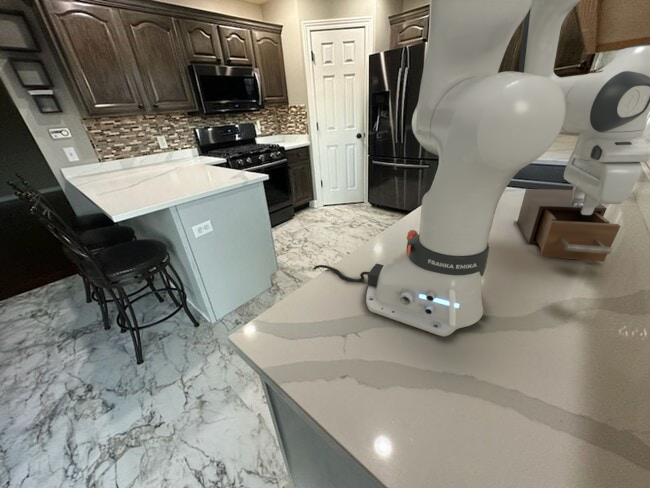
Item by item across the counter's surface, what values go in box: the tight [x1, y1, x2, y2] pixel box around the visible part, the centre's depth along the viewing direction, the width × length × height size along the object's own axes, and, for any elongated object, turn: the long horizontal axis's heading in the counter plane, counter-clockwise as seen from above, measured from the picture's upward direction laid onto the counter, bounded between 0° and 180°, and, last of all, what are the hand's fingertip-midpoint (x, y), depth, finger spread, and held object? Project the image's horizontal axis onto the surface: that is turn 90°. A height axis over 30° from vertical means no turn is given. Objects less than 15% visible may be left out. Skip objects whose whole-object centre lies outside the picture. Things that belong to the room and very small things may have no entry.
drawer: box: [534, 209, 621, 263], centre depth 62 cm, size 18×11×9 cm, turn 157°
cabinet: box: [516, 188, 607, 245], centre depth 71 cm, size 15×13×11 cm
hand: (580, 209), depth 59 cm, fingers open, 3 cm apart
